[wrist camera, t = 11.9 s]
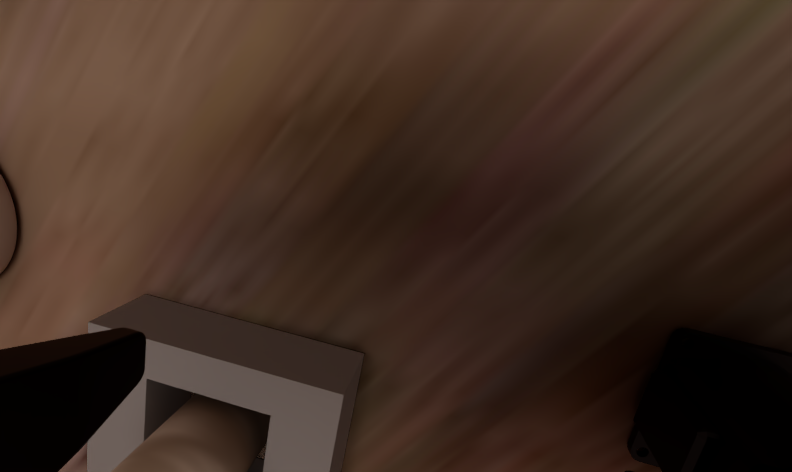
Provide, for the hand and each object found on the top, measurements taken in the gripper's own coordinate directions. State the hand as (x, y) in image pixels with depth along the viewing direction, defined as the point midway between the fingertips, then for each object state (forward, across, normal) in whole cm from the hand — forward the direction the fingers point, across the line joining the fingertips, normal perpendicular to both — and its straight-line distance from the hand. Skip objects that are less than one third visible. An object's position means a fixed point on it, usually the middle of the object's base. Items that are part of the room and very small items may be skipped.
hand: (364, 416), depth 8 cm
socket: (+12, +8, +15) cm, 21 cm away
